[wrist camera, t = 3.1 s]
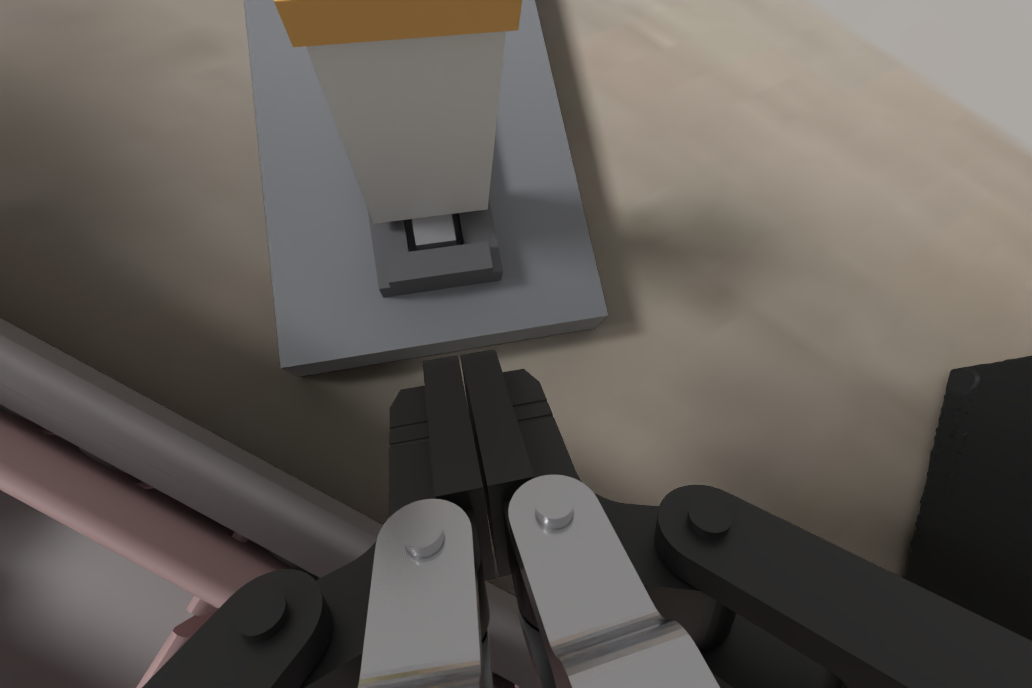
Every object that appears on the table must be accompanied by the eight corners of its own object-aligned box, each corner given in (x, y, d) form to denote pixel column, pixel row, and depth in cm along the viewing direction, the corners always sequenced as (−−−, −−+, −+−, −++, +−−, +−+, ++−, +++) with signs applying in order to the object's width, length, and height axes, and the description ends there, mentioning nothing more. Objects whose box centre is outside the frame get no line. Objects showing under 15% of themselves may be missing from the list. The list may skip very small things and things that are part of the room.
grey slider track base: (594, 328, 21) (620, 304, 18) (298, 376, 19) (263, 360, 16) (493, -121, 26) (497, -209, 22) (246, -113, 24) (211, -206, 21)
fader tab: (495, 247, 19) (532, 21, 9) (377, 264, 18) (278, 40, 8) (479, 162, 20) (496, -134, 10) (364, 175, 19) (259, -127, 9)
